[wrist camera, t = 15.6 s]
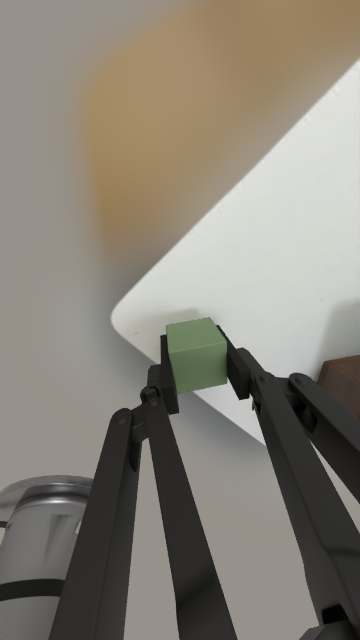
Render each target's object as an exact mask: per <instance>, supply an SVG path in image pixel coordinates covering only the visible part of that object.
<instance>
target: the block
mask: <svg viewBox="0 0 360 640" xmlns="http://www.w3.org/2000/svg"><path fill="white" fill-rule="evenodd" d="M166 332H167V343H168V354H169V358H170V362H171V366H172V370H173V375H174V380H175V384H176V390H177V393H178V394H179V393H184V392H188V391H194V390H199V389H204V388H208V387H213V386H218V385H223V384H227V341H226V340H225V339H224V337H223V336H222V334H221V333H220V331H219V330H218V328H217V327H216V325H215V324H214V322H213V321H212V320H211V318H210V317H209V318H203V319H198V320H192V321H187V322H181V323H176V324H171V325H166Z"/></svg>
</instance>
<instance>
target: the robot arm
mask: <svg viewBox="0 0 360 640" xmlns="http://www.w3.org/2000/svg"><path fill="white" fill-rule="evenodd" d="M216 327H217V328H218V330H219V331H220V333H221V334H222V336H223V337H224V339H225V340H226V341H227V377H228V379H229V381H230V383H231V385H232V387H233V389H234V391H235V393H236V395H237V397H238V398H239V400H243V399H248V398H249V397H250V394H251V396H252V397H253V402H252V410H254V408H255V412H256V415H257V418H258V421H259V424H260V427H261V430H262V433H263V437H264V440H265V443H266V446H267V449H268V452H269V455H270V458H271V461H272V464H273V468H274V471H275V474H276V477H277V480H278V484H279V486H280V489H281V493H282V496H283V499H284V502H285V505H286V508H287V511H288V515H289V518H290V521H291V524H292V527H293V530H294V534H295V537H296V540H297V543H298V546H299V549H300V552H301V556H302V559H303V563H304V569H305V577H306V581H307V585H308V589H309V592H310V596H311V599H312V602H313V606H314V609H315V612H316V615H317V619H318V622H319V625H320V626H317V627H314V628H310V629H308V630H307V631H306V632H305V633H304V635H303V636H302V637H301V638H300V639H299V640H360V533H359V531H358V530H357V528H356V526H355V524H354V522H353V520H352V518H351V517H350V515H349V513H348V511H347V509H346V507H345V505H344V504H343V502H342V500H341V498H340V496H339V494H338V492H337V491H336V489H335V487H334V486H333V483H332V481H331V479H330V478H329V476H328V474H327V472H326V470H325V468H324V466H323V465H322V463H321V461H320V459H319V458H318V455H317V453H316V452H315V450H314V448H313V446H312V444H311V442H312V443H313V445H314V446H315V447H316V448H317V450H318V451H319V452H320V454H321V455H322V456H323V457H324V459H325V460H326V461H327V462H328V464H329V465H330V466H331V468H332V469H333V470H334V471H335V473H336V474H337V475H338V477H339V478H340V479H341V480H342V482H343V483H344V484H345V486H346V487H347V488H348V489H349V491H350V492H351V493H352V494H353V496H354V497H355V498H356V500H357V501H358V502H359V504H360V421H359V420H358V419H357V418H356V417H354V416H353V415H352V414H351V413H350V412H349V411H348V410H346V409H345V408H344V407H343V406H342V405H341V404H340V403H338V402H337V401H336V400H335V399H334V398H333V397H332V396H331V395H329V394H328V393H327V392H326V391H325V390H324V389H323V388H321V387H320V386H319V385H318V384H317V383H316V382H315V381H313V380H312V379H311V378H310V377H308V376H307V375H304V374H301V373H292V374H290V376H289V378H279V377H275V376H274V375H273V374H271V373H269V372H266V371H265V370H264V369H263V368H262V367H261V366H260V364H259V363H258V362H257V361H256V360H255V359H254V357H253V356H252V355H251V354H250V352H249V351H248V350H246V349H245V348H238V349H236V348H235V347H234V346H233V344H232V343H231V342H230V340H229V339H228V337H227V336H226V335H225V333H224V332H223V330H222V329H221V328H220V326H219V325H216ZM160 338H161V364H157V365H152V366H151V367H150V369H149V370H148V381H147V386H146V387H145V388H144V389H142V391H141V393H140V398H141V401H142V404H141V405H140V406H138V407H137V408H134V409H133V410H130V409H128V408H122V409H120V410H118V411H117V412H115V414H114V415H113V416H112V418H111V420H110V424H109V427H108V431H107V434H106V438H105V441H104V445H103V448H102V452H101V455H100V460H99V462H98V466H97V469H96V473H95V476H94V480H93V483H92V487H91V490H90V494H89V497H88V498H85V497H82V496H77V495H71V494H48V495H41V496H36V497H32V498H29V499H26V500H24V501H22V502H21V503H19V504H18V505H17V506H16V507H15V509H14V511H13V513H12V515H11V516H10V518H9V521H8V522H6V521H0V527H3V528H6V529H5V534H4V537H3V540H2V543H1V546H0V640H123V638H124V626H125V617H126V616H125V615H126V605H127V595H128V585H129V574H130V564H131V553H132V542H133V532H134V521H135V511H136V501H137V490H138V479H139V468H140V458H141V448H142V441H143V440H144V439H146V438H148V437H149V443H150V449H151V454H152V461H153V467H154V472H155V479H156V484H157V490H158V496H159V502H160V508H161V514H162V520H163V526H164V532H165V538H166V544H167V550H168V556H169V562H170V568H171V573H172V580H173V586H174V592H175V600H176V615H177V624H178V631H179V639H180V640H237V636H236V633H235V630H234V627H233V623H232V620H231V617H230V614H229V610H228V607H227V604H226V601H225V598H224V594H223V591H222V588H221V585H220V582H219V579H218V576H217V573H216V570H215V566H214V563H213V560H212V556H211V553H210V550H209V547H208V543H207V540H206V537H205V534H204V530H203V527H202V524H201V521H200V517H199V514H198V511H197V508H196V505H195V501H194V498H193V495H192V491H191V488H190V485H189V482H188V478H187V475H186V472H185V469H184V465H183V462H182V459H181V456H180V453H179V449H178V446H177V443H176V439H175V436H174V433H173V430H172V426H171V423H170V420H169V417H168V414H169V415H171V414H176V413H179V407H178V399H177V390H176V384H175V380H174V375H173V370H172V366H171V362H170V358H169V354H168V343H167V335H161V336H160ZM308 438H309V439H310V440H309V439H308ZM310 441H311V442H310Z"/></svg>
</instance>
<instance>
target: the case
mask: <svg viewBox="0 0 360 640" xmlns="http://www.w3.org/2000/svg"><path fill="white" fill-rule="evenodd" d="M317 384H318V385H319V386H320V387H321V388H323V389H324V390H325V391H326V392H327V393H328V394H329V395H331V396H332V397H333V398H334V399H335V400H336V401H337V402H338V403H340V404H341V405H342V406H343V407H344V408H345V409H346V410H348V411H349V412H350V413H351V414H352V415H353V416H354V417H356V418H357V419H358V420H359V421H360V355H356V356H351V357H346V358H341V359H335V360H330V361H325V362H324V365H323V368H322V371H321V374H320V377H319V380H318V383H317Z"/></svg>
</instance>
